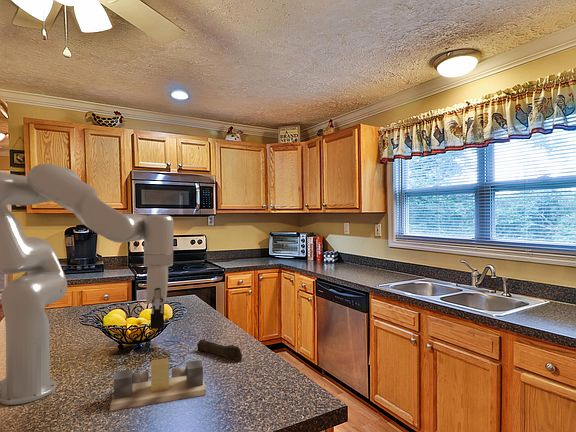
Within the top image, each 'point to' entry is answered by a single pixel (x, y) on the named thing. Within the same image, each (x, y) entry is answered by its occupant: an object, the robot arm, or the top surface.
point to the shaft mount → (138, 391)
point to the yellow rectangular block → (159, 375)
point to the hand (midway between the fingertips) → (157, 322)
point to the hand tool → (220, 350)
